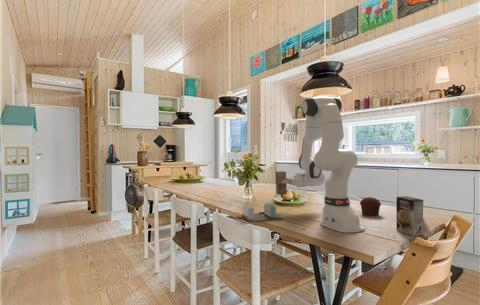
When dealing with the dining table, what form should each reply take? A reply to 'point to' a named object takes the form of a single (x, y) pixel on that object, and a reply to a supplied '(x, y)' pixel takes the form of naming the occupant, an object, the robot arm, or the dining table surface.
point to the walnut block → (280, 186)
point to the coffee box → (410, 215)
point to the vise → (254, 214)
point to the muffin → (370, 206)
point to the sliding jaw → (270, 210)
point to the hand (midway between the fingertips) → (279, 181)
